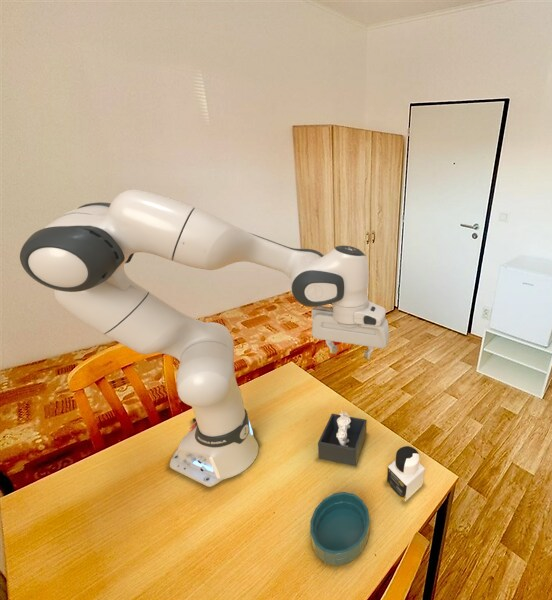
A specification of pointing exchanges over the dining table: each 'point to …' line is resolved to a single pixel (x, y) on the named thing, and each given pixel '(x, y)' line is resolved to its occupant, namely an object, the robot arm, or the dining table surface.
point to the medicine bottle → (405, 473)
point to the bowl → (339, 528)
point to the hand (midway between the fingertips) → (350, 355)
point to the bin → (331, 445)
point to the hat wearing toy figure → (343, 428)
